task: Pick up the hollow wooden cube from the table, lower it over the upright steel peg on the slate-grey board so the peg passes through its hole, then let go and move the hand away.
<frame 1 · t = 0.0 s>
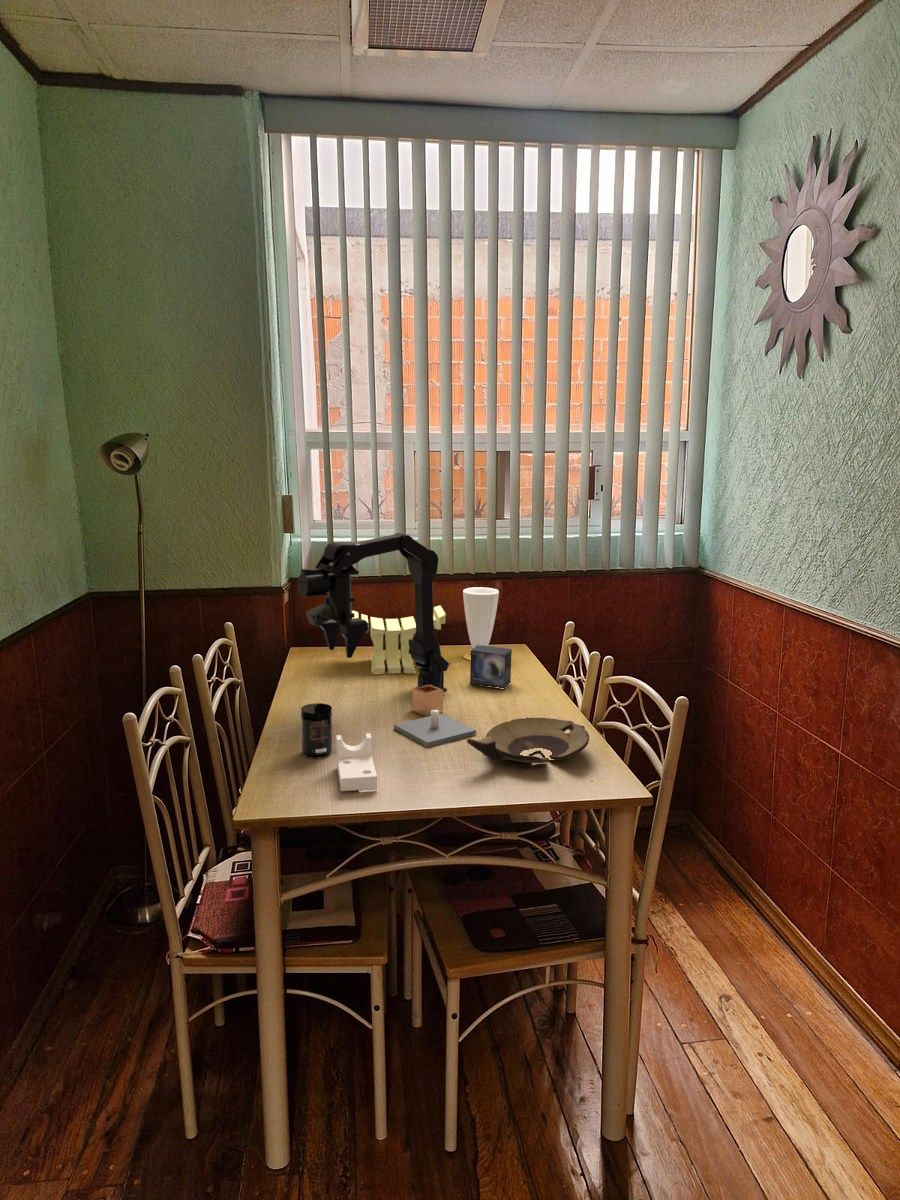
hand: (340, 653, 205), 15 cm above the table, tool pointing down, fingers open, 9 cm apart
cup: (479, 657, 259), on the table
hollow wooden cube: (427, 711, 207), on the table
slatted curved stool: (392, 666, 247), on the table
supplement container: (317, 754, 179), on the table
oil lamp: (524, 757, 179), on the table
bracket: (356, 781, 165), on the table
stand: (434, 732, 192), on the table
small box: (490, 685, 230), on the table
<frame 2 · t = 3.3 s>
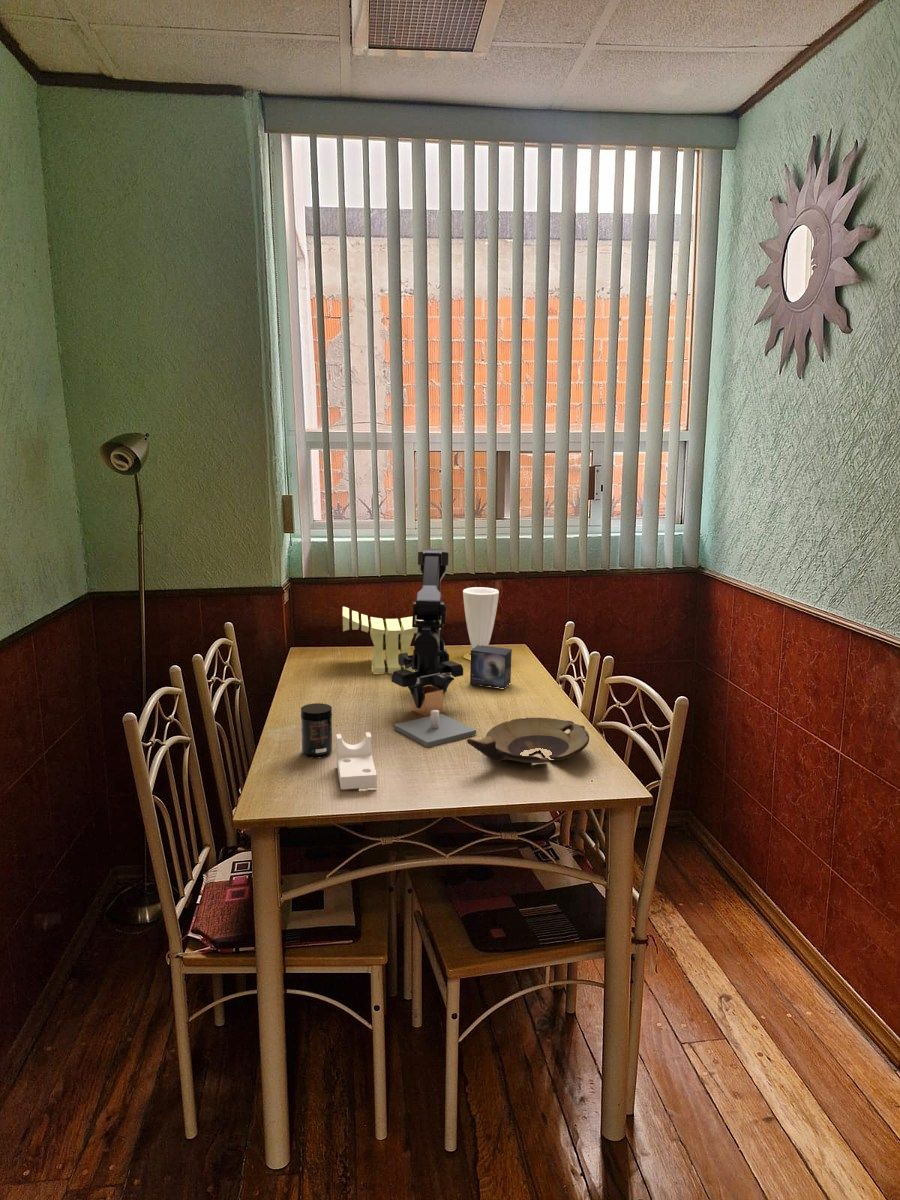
hand: (427, 705, 207), 2 cm above the table, tool pointing down, fingers closed on hollow wooden cube, 6 cm apart
hollow wooden cube: (427, 711, 207), on the table, touching gripper
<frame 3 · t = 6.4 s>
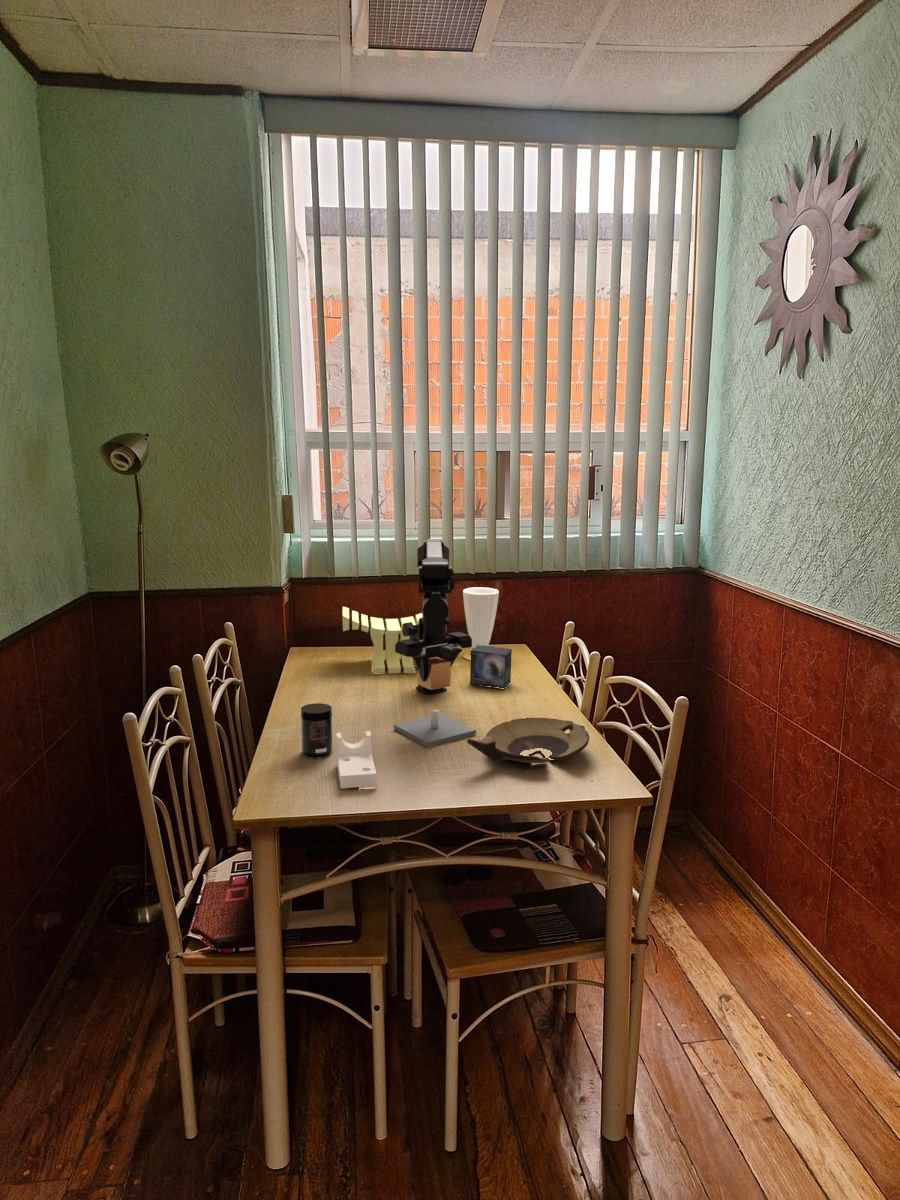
hand: (433, 679, 192), 12 cm above the table, tool pointing down, fingers closed on hollow wooden cube, 6 cm apart
hollow wooden cube: (433, 685, 192), point 11 cm above the table, touching gripper
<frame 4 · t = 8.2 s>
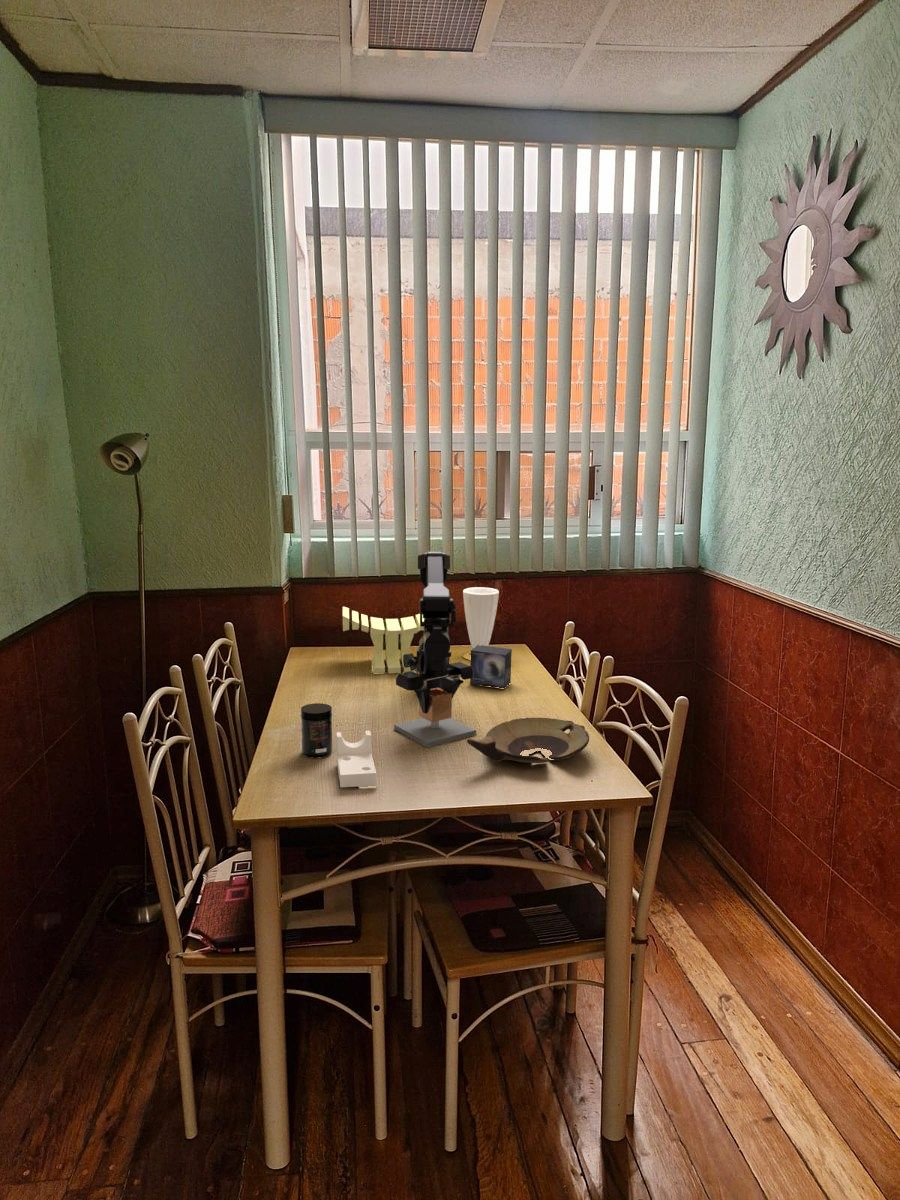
hand: (434, 710, 191), 5 cm above the table, tool pointing down, fingers closed on hollow wooden cube, 6 cm apart
hollow wooden cube: (434, 716, 192), point 4 cm above the table, touching gripper
when the fingers open (4 cm above the table, at t = 9.5 s): hollow wooden cube drops 1 cm, resting on stand.
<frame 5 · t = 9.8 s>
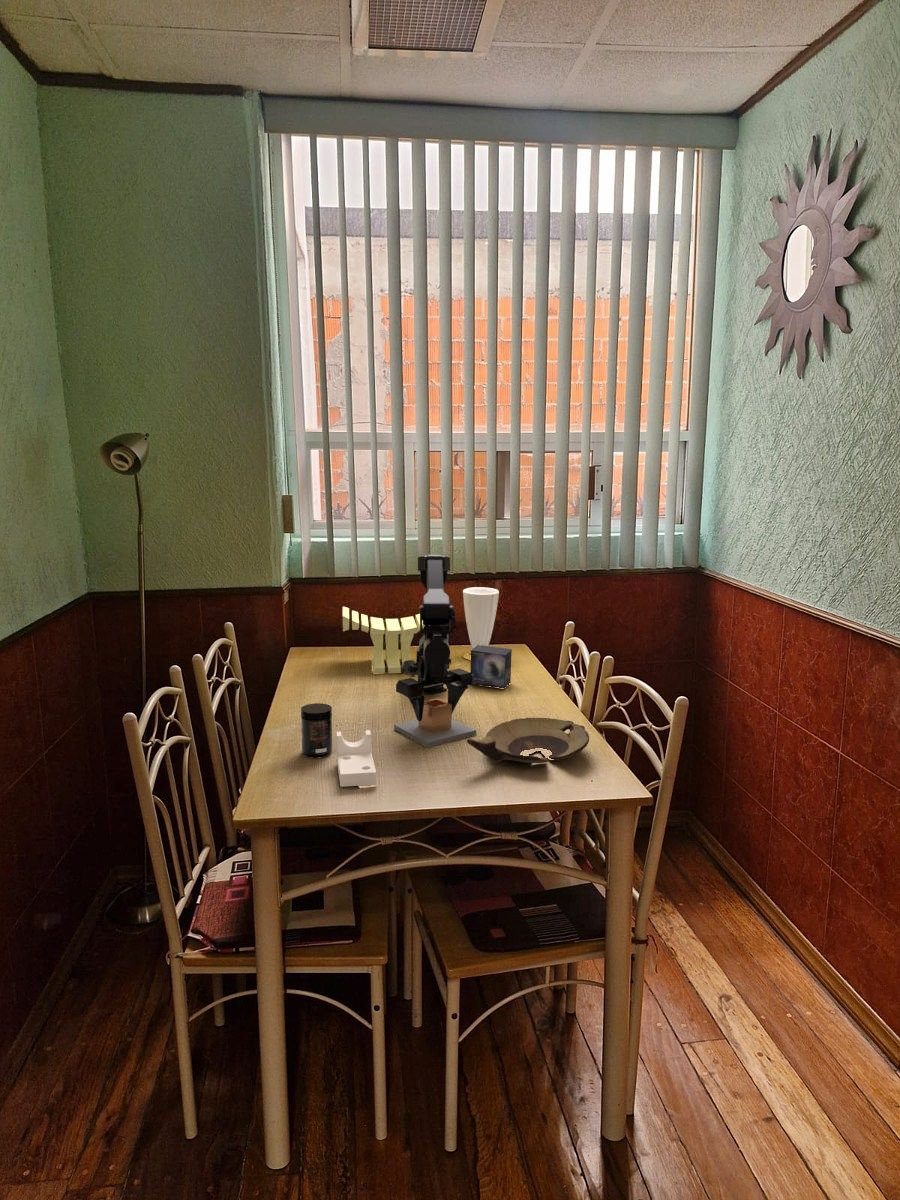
hand: (434, 717, 192), 4 cm above the table, tool pointing down, fingers open, 9 cm apart
hollow wooden cube: (434, 727, 192), point 1 cm above the table, touching stand
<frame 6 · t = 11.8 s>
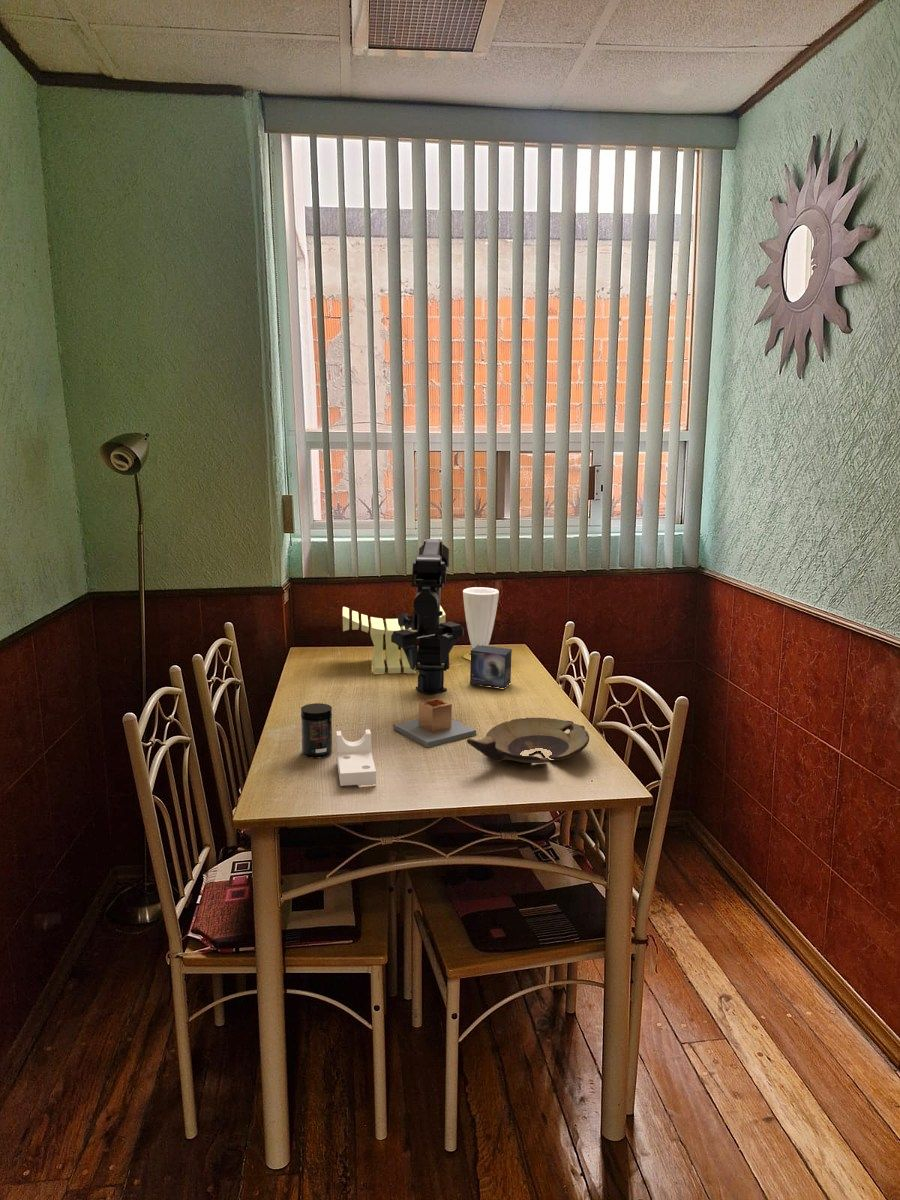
hand: (427, 666, 206), 12 cm above the table, tool pointing down, fingers open, 9 cm apart
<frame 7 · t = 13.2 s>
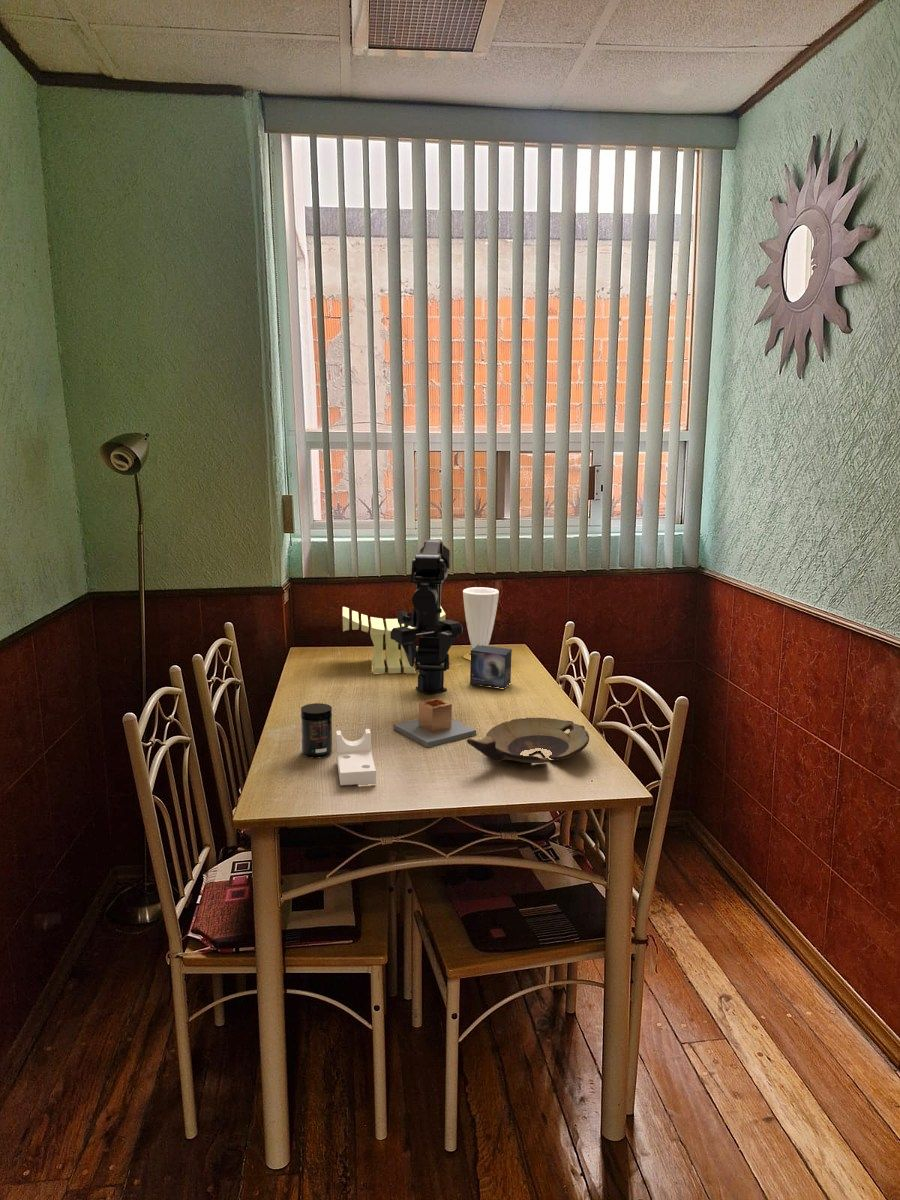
hand: (426, 663, 207), 12 cm above the table, tool pointing down, fingers open, 9 cm apart
at the end: hollow wooden cube 0.0 cm off-centre on the stand, point 1.2 cm above the stand's base; hollow wooden cube tilted 0°; the gripper is holding nothing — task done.
